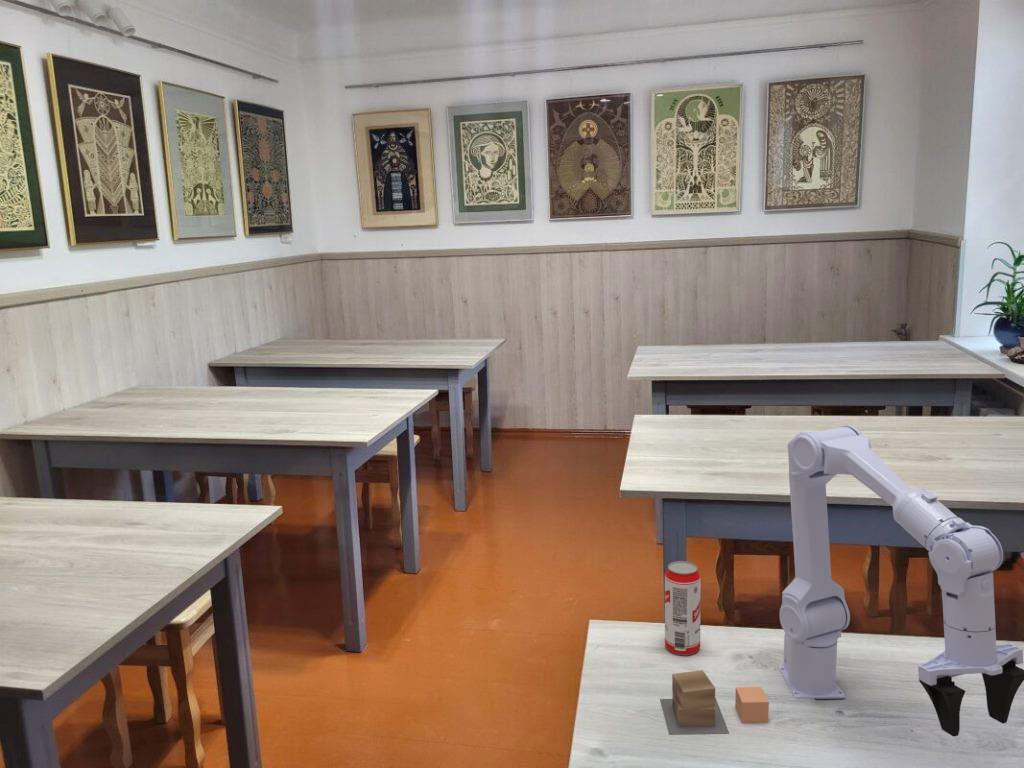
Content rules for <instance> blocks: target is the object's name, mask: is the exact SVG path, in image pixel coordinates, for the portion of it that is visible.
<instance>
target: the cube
mask: <svg viewBox="0 0 1024 768" xmlns="http://www.w3.org/2000/svg"><path fill="white" fill-rule="evenodd" d="M734 699H735V703H734V705H735V710H736V713H737V715H738V717H739V719H740V722H741V724H762V723H763V724H766V723H769V712H770V711H769V710H770V709H769V707H770V705H769V704H770V701H769V699H768V697H767V695H766V693H765V691H764V690H763V687H762V686H736V687H735V698H734Z"/></svg>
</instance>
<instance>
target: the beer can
mask: <svg viewBox="0 0 1024 768" xmlns="http://www.w3.org/2000/svg"><path fill="white" fill-rule="evenodd" d="M701 582H702V581H701V576H700V572H699V571H698V566H697V565H696V564H695V563H693V562H690V561H687V560H686V561H685V560H676V561H672V562H670V563H669V564H668V566H667V570H666V571H665V574H664V644H665V648H666V649H667V651H669V652H670V653H672V654H674V655H678V656H691V655H693V654H696V653H697V652H698V651H699V649H700V648H701Z"/></svg>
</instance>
